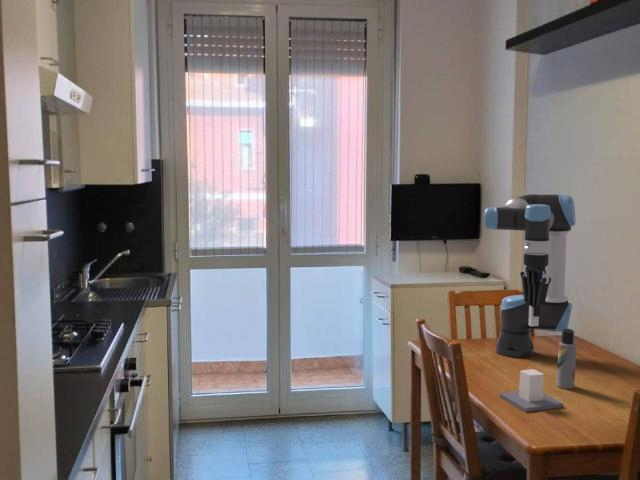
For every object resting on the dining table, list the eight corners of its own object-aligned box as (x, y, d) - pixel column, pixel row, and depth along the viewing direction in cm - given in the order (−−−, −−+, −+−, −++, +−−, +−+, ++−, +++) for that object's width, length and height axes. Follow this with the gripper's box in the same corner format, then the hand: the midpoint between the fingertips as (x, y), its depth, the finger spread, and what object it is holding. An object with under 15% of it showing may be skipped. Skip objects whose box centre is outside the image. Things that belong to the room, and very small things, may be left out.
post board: (499, 396, 214) (500, 372, 213) (535, 392, 219) (536, 368, 218) (525, 412, 201) (526, 386, 200) (563, 407, 205) (564, 381, 204)
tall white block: (518, 396, 211) (519, 370, 210) (532, 394, 213) (533, 369, 212) (528, 401, 206) (529, 375, 206) (542, 400, 208) (543, 373, 207)
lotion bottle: (574, 384, 226) (576, 328, 224) (574, 390, 221) (577, 332, 219) (556, 383, 228) (559, 327, 226) (556, 388, 223) (559, 331, 221)
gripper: (513, 251, 212) (511, 321, 215) (539, 256, 200) (536, 331, 203) (533, 249, 215) (530, 319, 218) (559, 255, 202) (556, 329, 205)
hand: (533, 325), depth 210 cm, fingers closed
